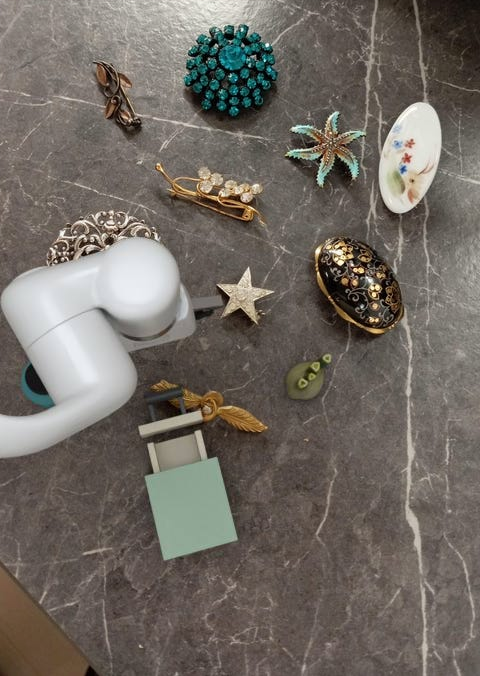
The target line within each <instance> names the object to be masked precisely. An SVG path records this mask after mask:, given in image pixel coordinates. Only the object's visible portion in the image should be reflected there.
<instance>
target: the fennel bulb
mask: <svg viewBox="0 0 480 676" xmlns="http://www.w3.org/2000/svg"><path fill="white" fill-rule="evenodd" d="M332 358H333V357H332V354H331V353H325V354H323V355H322V356H321V357H319V358H318V359H314V360H311V361H304V362H301V363H298V364H295V365H294V366H293V367H292V368H291V369H290V370H288V372H287V373H286V375H285V377H284V384H285V386H286V388H285V391H286V395H287V396H288V397H289V398H290V399H292V400H303V401H305V400H310V399H313V398H316V396H318V394H320V391H321V390H322V388H323V384H324V380H325V369H326V366H327V365H329V364H330V363H331V362H332Z"/></svg>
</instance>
